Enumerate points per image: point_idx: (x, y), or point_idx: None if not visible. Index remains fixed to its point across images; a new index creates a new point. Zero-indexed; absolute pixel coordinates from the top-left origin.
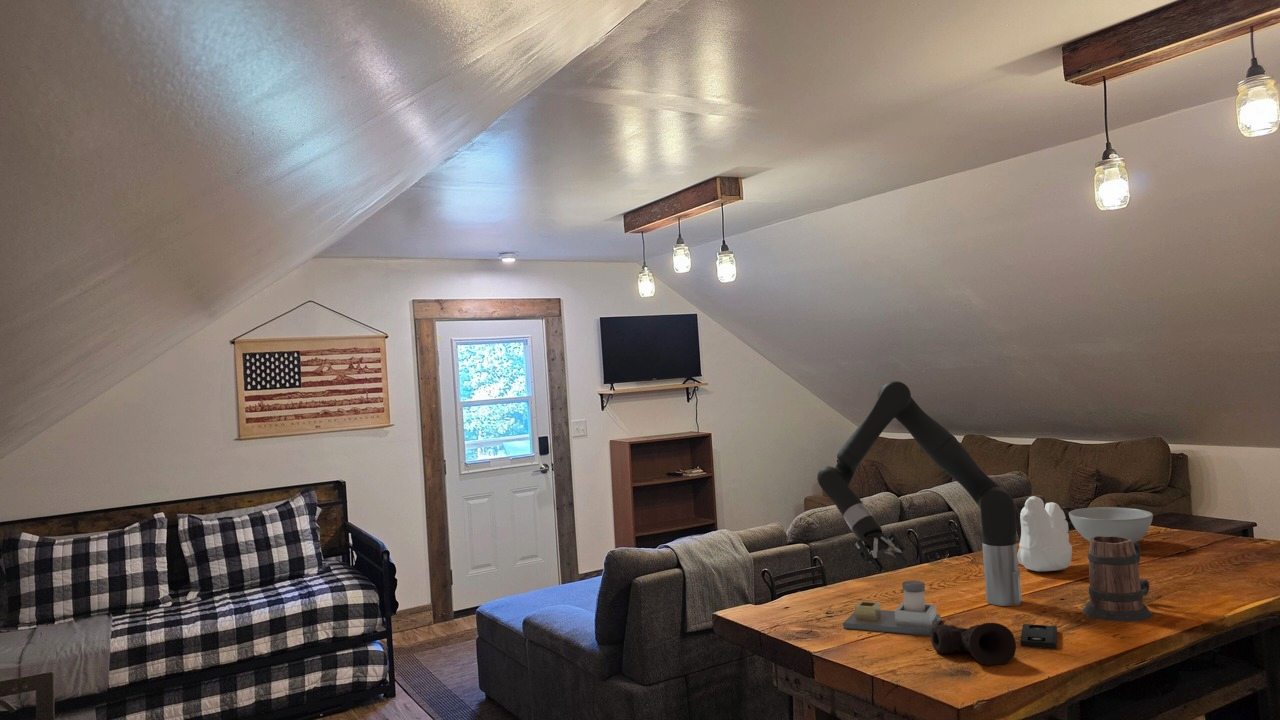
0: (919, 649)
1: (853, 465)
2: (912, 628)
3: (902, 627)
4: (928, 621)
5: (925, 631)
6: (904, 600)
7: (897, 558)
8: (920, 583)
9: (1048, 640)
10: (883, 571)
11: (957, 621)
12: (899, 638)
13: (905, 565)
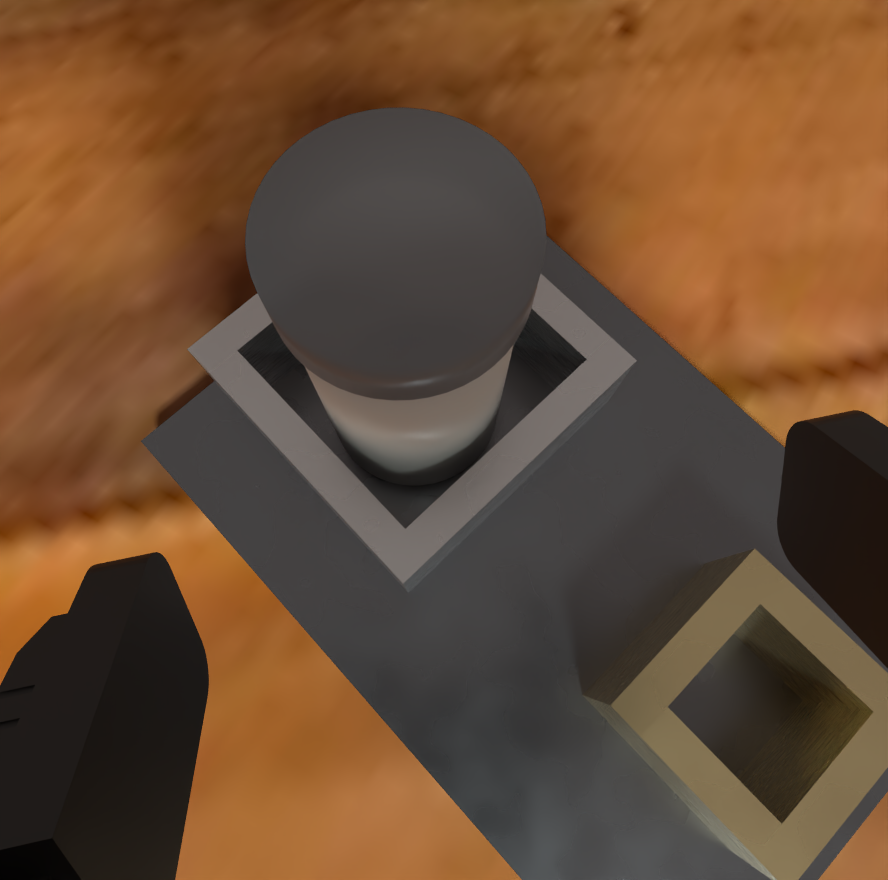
0: (671, 42)
1: None
2: (554, 254)
3: (606, 305)
4: None
5: None
6: (510, 357)
7: (145, 865)
8: (317, 186)
9: None
10: (786, 483)
11: (84, 369)
12: (676, 247)
13: (170, 570)
